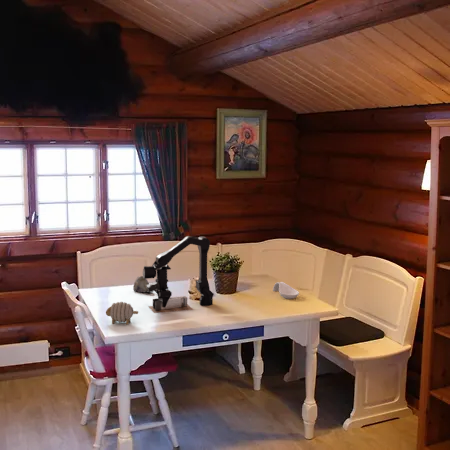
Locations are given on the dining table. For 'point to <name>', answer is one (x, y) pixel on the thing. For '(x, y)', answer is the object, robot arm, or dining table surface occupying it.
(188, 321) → the dining table surface
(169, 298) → the frame
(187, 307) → the board
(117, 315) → the toy sheep
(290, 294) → the spoon rest
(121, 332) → the dining table surface
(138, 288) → the mineral rock
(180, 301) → the tongs arm
